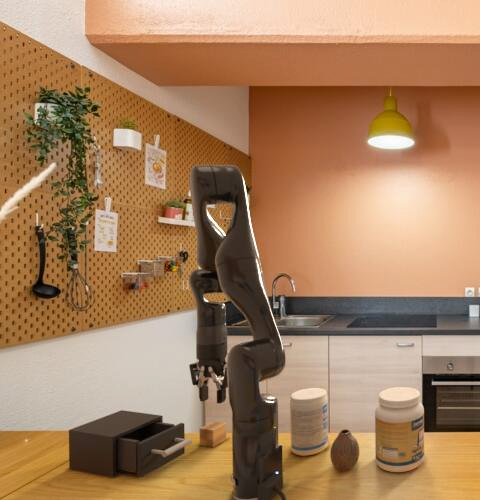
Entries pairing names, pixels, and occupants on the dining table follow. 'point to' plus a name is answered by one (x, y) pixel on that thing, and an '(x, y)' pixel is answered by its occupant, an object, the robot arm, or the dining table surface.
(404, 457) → the supplement tub
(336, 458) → the vase
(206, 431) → the block
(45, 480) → the dining table surface
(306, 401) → the supplement tub
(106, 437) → the dark drawer cabinet
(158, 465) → the drawer with bar handle
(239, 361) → the robot arm
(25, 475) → the dining table surface
